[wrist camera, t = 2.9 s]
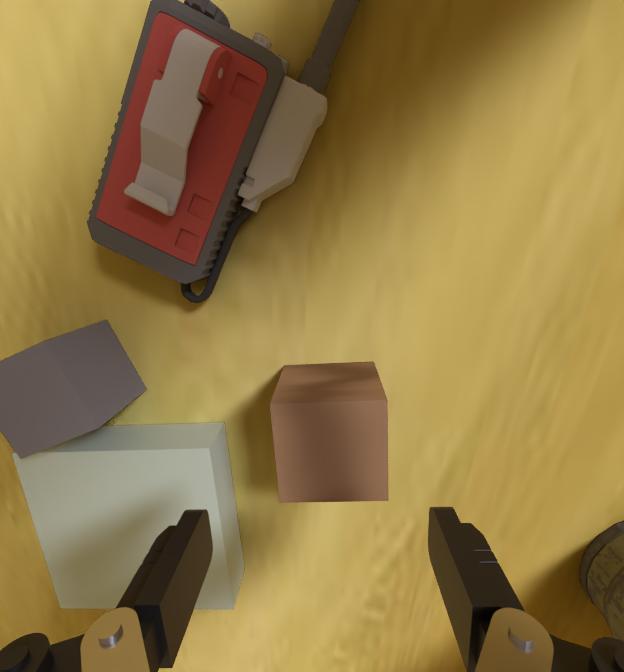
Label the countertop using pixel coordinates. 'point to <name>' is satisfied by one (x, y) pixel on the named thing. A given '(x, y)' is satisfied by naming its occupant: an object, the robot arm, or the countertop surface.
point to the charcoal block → (65, 388)
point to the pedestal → (130, 507)
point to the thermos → (606, 576)
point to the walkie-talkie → (205, 137)
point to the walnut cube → (330, 433)
